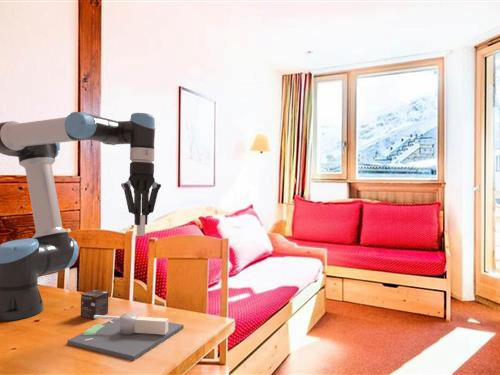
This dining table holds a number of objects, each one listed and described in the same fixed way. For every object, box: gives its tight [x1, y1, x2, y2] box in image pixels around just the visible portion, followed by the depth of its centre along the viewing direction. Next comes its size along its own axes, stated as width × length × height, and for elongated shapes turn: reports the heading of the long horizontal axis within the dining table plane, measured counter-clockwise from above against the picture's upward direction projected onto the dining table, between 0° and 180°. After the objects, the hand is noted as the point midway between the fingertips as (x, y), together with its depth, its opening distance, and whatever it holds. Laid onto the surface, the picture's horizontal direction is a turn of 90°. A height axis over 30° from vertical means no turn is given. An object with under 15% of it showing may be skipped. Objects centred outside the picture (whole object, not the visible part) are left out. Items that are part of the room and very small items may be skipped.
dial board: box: [67, 313, 185, 361], centre depth 103 cm, size 23×22×1 cm
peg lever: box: [94, 313, 169, 335], centre depth 102 cm, size 21×5×4 cm, turn 84°
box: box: [80, 289, 109, 320], centre depth 118 cm, size 6×6×7 cm
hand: (140, 235), depth 117 cm, fingers closed
